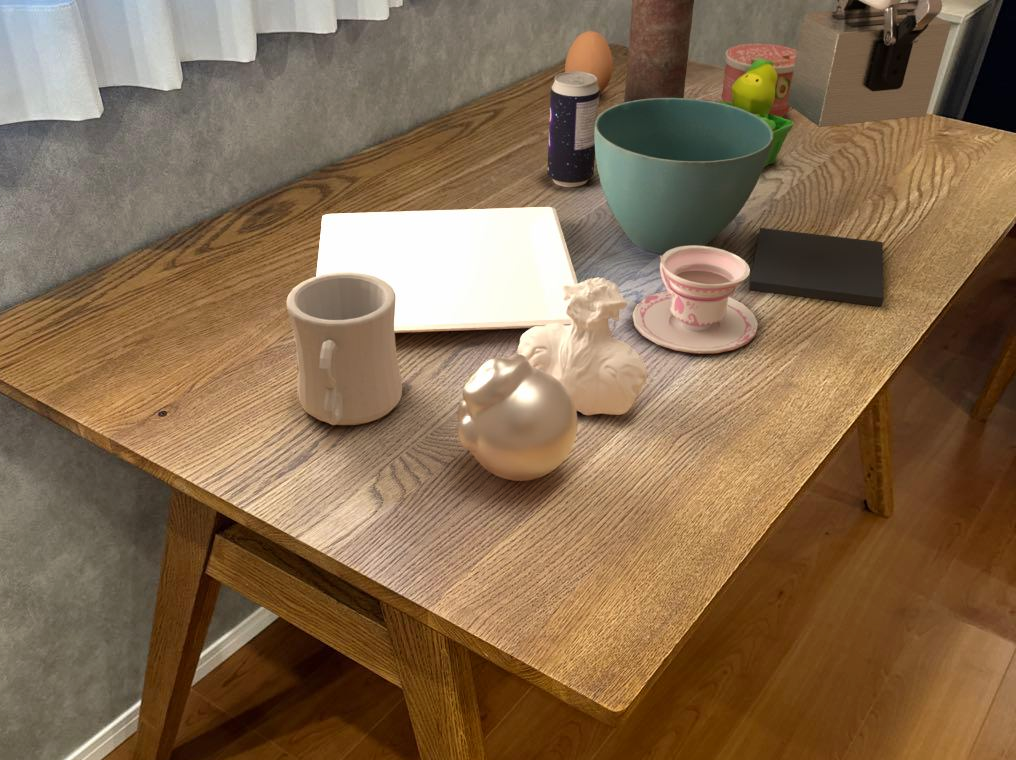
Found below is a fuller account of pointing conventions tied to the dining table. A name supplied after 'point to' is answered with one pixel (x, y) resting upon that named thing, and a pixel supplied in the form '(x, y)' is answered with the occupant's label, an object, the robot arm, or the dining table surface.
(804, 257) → the mat
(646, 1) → the candle
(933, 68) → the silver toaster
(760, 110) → the fruit basket
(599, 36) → the egg
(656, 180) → the plant pot
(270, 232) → the dining table surface
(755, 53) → the container
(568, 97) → the beverage can
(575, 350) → the bust
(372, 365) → the mug
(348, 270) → the plate
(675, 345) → the teacup
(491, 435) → the cream glossy round piece
